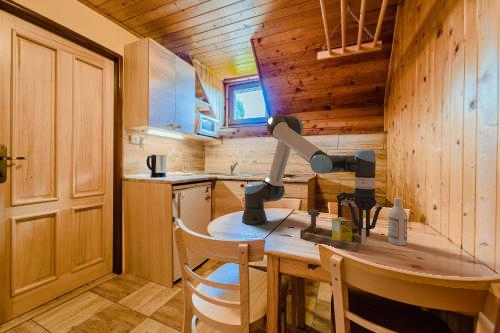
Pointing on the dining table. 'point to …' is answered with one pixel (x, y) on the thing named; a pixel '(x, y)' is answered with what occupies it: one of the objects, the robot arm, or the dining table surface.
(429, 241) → the dining table surface
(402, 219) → the bath foam
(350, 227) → the supplement box
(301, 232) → the bay
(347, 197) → the canister
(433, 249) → the dining table surface
